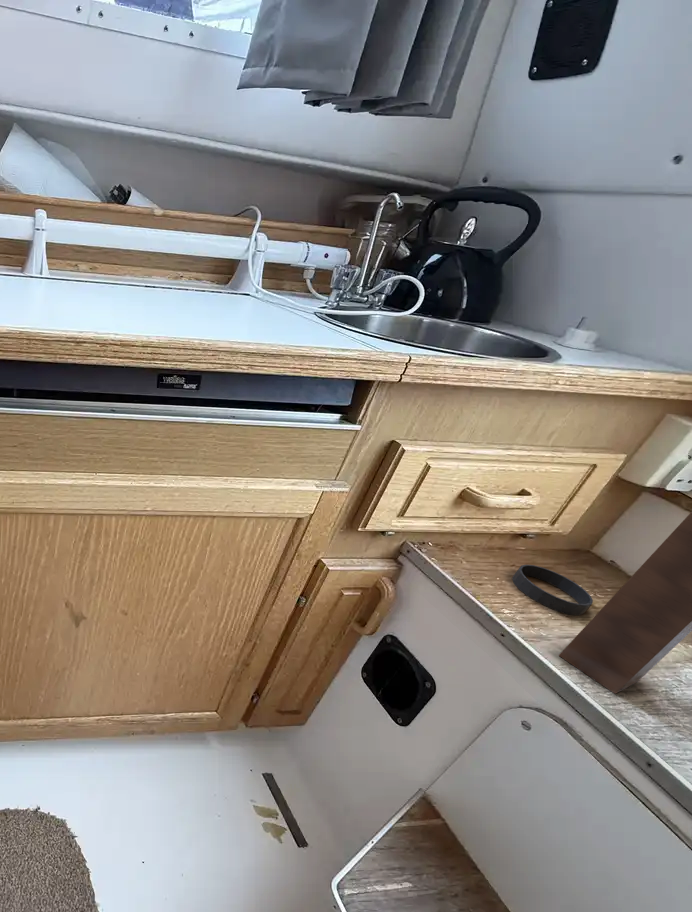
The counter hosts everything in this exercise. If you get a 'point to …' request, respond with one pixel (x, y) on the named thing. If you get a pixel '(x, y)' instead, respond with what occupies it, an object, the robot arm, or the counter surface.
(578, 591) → the ring
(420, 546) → the counter surface
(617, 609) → the stand
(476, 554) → the counter surface
